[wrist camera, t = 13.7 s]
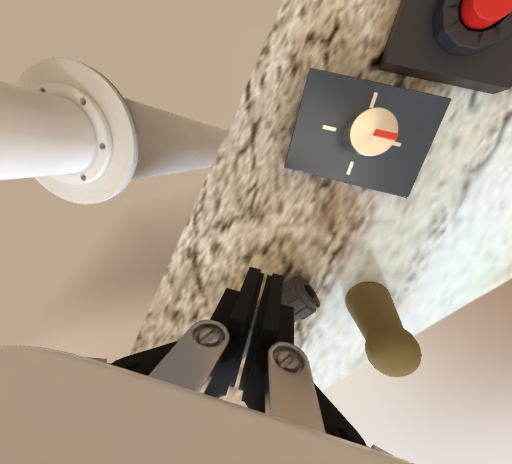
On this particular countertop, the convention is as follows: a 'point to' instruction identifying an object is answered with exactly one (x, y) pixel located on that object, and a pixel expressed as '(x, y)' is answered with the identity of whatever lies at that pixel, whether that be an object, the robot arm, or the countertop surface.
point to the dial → (370, 132)
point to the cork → (383, 330)
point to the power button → (483, 12)
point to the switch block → (449, 47)
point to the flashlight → (293, 302)
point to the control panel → (347, 107)
